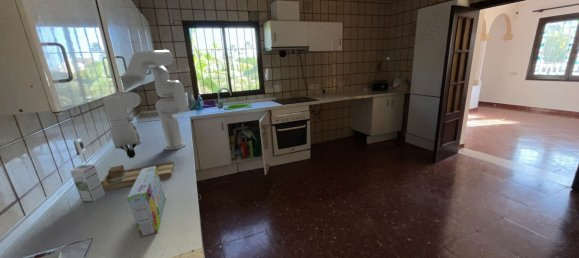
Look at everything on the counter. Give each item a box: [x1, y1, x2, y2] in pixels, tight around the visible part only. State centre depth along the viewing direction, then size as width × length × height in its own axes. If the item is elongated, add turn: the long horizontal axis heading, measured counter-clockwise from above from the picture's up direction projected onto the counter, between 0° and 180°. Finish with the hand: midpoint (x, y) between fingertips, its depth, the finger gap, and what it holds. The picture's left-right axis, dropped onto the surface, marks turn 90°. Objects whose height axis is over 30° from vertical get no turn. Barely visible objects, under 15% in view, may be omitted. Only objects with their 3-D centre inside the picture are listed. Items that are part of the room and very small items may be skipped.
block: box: [107, 164, 126, 179], centre depth 113 cm, size 5×5×4 cm
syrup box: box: [69, 164, 106, 203], centre depth 97 cm, size 6×6×14 cm
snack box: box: [126, 166, 167, 238], centre depth 82 cm, size 21×6×15 cm, turn 21°
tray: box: [100, 160, 175, 192], centre depth 114 cm, size 14×28×4 cm, turn 110°
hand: (132, 157), depth 116 cm, fingers closed
